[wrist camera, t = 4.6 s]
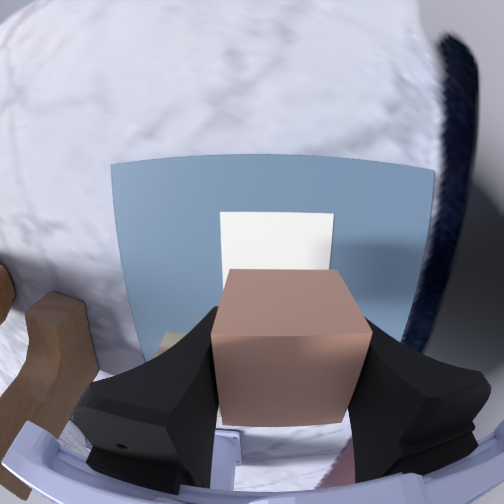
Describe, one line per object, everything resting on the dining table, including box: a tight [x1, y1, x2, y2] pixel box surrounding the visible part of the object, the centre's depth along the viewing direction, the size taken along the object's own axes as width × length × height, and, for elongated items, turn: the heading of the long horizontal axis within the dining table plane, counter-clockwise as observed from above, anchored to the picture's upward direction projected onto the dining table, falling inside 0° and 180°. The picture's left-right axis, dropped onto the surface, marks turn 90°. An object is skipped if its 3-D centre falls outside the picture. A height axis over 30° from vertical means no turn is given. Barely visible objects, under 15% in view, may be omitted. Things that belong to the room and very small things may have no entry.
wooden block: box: [0, 291, 99, 501], centre depth 13 cm, size 9×4×18 cm, turn 171°
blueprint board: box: [111, 154, 434, 362], centre depth 19 cm, size 22×22×1 cm
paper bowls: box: [58, 419, 90, 457], centre depth 26 cm, size 15×15×8 cm
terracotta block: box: [211, 269, 373, 427], centre depth 10 cm, size 4×4×4 cm
